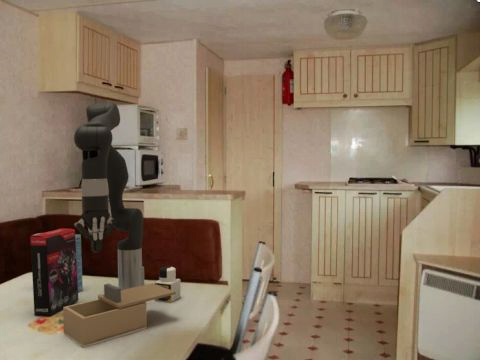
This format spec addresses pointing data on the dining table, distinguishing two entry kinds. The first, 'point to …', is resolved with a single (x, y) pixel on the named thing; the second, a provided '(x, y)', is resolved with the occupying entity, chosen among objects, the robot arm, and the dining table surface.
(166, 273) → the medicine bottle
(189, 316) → the dining table surface
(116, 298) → the lid
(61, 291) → the graphics card box
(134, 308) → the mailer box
